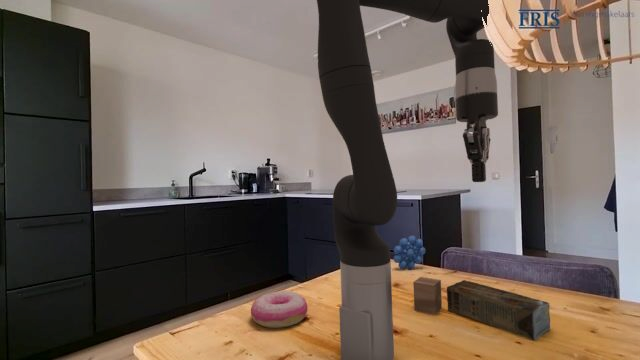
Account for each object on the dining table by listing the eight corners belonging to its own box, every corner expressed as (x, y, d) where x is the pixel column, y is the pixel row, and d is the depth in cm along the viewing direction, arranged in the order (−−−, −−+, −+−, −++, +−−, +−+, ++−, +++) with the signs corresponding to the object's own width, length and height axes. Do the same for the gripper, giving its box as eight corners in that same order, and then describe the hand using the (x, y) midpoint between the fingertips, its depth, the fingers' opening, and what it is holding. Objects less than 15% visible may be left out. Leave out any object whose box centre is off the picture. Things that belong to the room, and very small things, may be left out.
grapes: (421, 265, 117) (420, 233, 117) (428, 270, 110) (427, 236, 110) (390, 266, 116) (389, 234, 116) (396, 271, 110) (394, 237, 110)
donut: (266, 338, 65) (265, 314, 65) (241, 317, 76) (241, 297, 76) (318, 320, 73) (318, 298, 73) (290, 303, 84) (289, 285, 84)
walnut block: (435, 315, 73) (434, 285, 74) (414, 310, 77) (413, 281, 77) (441, 308, 77) (440, 279, 77) (421, 304, 80) (420, 276, 81)
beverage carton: (535, 343, 60) (533, 308, 60) (445, 311, 76) (444, 284, 76) (552, 330, 65) (550, 298, 65) (464, 303, 80) (463, 277, 81)
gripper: (490, 83, 55) (494, 182, 55) (502, 98, 66) (505, 180, 66) (446, 92, 60) (449, 183, 60) (464, 104, 71) (467, 182, 70)
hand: (479, 181), depth 63 cm, fingers closed
